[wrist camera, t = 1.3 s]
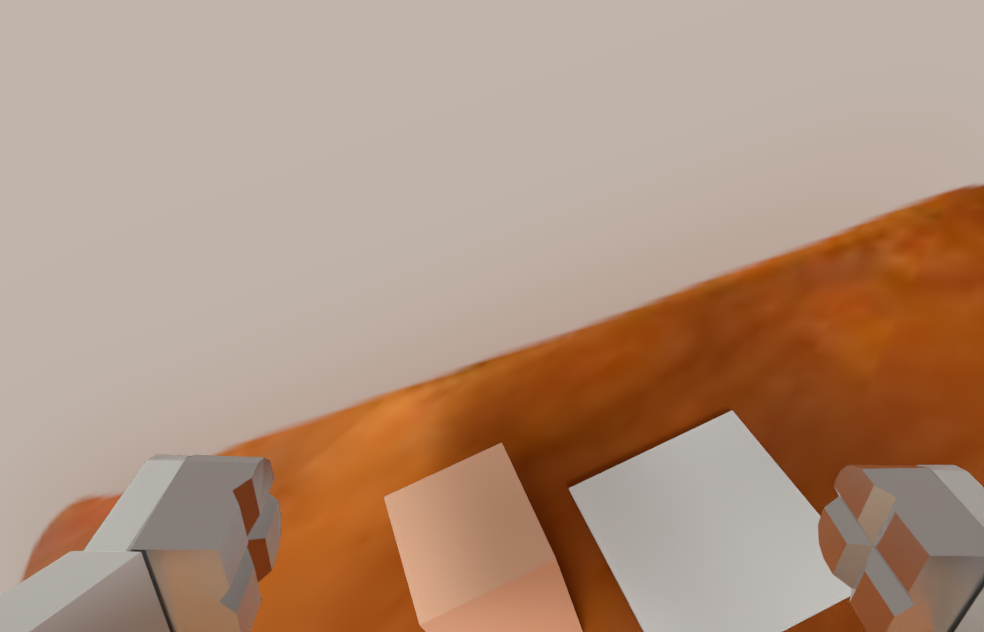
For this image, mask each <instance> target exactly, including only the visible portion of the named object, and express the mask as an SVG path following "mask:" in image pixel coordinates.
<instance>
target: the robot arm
mask: <svg viewBox="0 0 984 632" xmlns="http://www.w3.org/2000/svg"><path fill="white" fill-rule="evenodd" d="M273 481H274V475H273V471H272V467H271V462H270V460H268V459H266V458H262V457H235V456H208V455H193V456H183V455H159V454H156V455H155V456H153V457H151V458H150V459H148V460H147V461H146V462H145V463H144V464H143V466H142V467H141V468H140V470H139V472H138V473H137V474H136V476H135V477H134V479H133V480H132V481H131V483H130V484H129V486H128V487H127V489H126V490H125V492H124V493H123V494H122V496H121V497H120V499H119V500H118V502H117V503H116V504H115V506H114V507H113V509H112V510H111V512H110V513H109V515H108V516H107V517H106V519H105V520H104V522H103V523H102V525H101V526H100V528H99V529H98V530H97V532H96V533H95V535H94V536H93V538H92V539H91V540H90V542H89V543H88V545H87V546H86V548H85V549H84V551H70V552H69V553H67V554H66V555H64V556H62V557H61V558H59V559H58V560H56V561H55V562H53V563H51V564H50V565H48V566H47V567H45V568H44V569H42V570H40V571H39V572H37V573H36V574H34V575H32V576H31V577H29V578H28V579H26V580H25V581H23V582H21V583H20V584H18V585H17V586H15V587H13V588H12V589H10V590H9V591H7V592H6V593H4V594H2V595H1V596H0V632H250V631H251V628H252V625H253V622H254V619H255V617H256V614H257V611H258V608H259V605H260V603H261V600H262V599H261V595H260V590H259V586H258V582H259V581H260V580H261V579H262V578H264V577H265V576H266V575H267V574H268V573H269V572H270V571H272V568H273V565H274V562H275V559H276V556H277V553H278V548H279V542H280V535H281V512H280V506H279V502H278V501H277V500H276V499H275V498H274V497H273V496H272V495H271V494H269V491H270V488H271V486H272V483H273ZM834 487H835V489H836V491H837V493H838V495H839V497H838V498H836V499H835V500H834V501H832V502H831V503H830V504H828V505H827V506H826V507H824V509H823V512H822V515H821V517H820V520H819V523H818V537H819V546H820V549H821V552H822V555H823V558H824V560H825V562H826V563H827V565H828V567H829V569H830V570H831V572H832V574H833V575H834V576H836V577H837V578H838V579H840V580H841V581H842V582H844V583H845V584H846V585H848V586H849V587H850V588H852V591H851V597H850V605H851V606H852V608H853V610H854V611H855V613H856V615H857V616H858V618H859V620H860V621H861V623H862V625H863V626H864V628H865V630H866V631H867V632H984V487H983V486H982V485H981V484H980V483H979V482H978V481H977V480H976V479H975V478H974V477H973V476H972V475H971V474H970V473H969V472H967V471H966V470H964V469H962V468H960V467H958V466H956V465H917V466H913V465H847V466H846V467H845V468H844V469H842V470H841V471H840V472H839V474H838V476H837V478H836V481H835V483H834Z"/></svg>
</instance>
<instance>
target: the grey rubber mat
mask: <svg viewBox="0 0 984 632" xmlns="http://www.w3.org/2000/svg"><path fill="white" fill-rule="evenodd" d="M569 491H570V493H571V495H572V497H573V499H574V501H575V503H576V505H577V507H578V509H579V510H580V512H581V514H582V516H583V518H584V520H585V522H586V524H587V526H588V528H589V529H590V531H591V533H592V535H593V537H594V539H595V541H596V543H597V545H598V547H599V548H600V550H601V552H602V554H603V556H604V558H605V560H606V562H607V564H608V566H609V567H610V569H611V571H612V573H613V575H614V577H615V579H616V581H617V583H618V585H619V586H620V588H621V590H622V592H623V594H624V596H625V598H626V600H627V602H628V604H629V605H630V607H631V609H632V611H633V613H634V615H635V617H636V619H637V621H638V623H639V624H640V626H641V628H642V630H643V632H783V631H785V630H787V629H788V628H790V627H792V626H794V625H796V624H798V623H800V622H802V621H804V620H806V619H808V618H809V617H811V616H813V615H815V614H817V613H819V612H821V611H823V610H825V609H827V608H829V607H831V606H832V605H834V604H836V603H838V602H840V601H842V600H844V599H846V598H848V597H850V596H851V591H852V588H850V587H849V586H848V585H846V584H845V583H844V582H842V581H841V580H840V579H838V578H837V577H836V576H834V575H833V574H832V572H831V570H830V569H829V567H828V565H827V563H826V562H825V560H824V558H823V555H822V552H821V549H820V546H819V537H818V523H819V520H820V517H821V516H820V515H819V514H818V513H817V512H816V510H815V509H814V508H813V507H812V506H811V504H810V503H809V502H808V501H807V500H806V498H805V497H804V496H803V495H802V493H801V492H800V491H799V490H798V489H797V487H796V486H795V485H794V484H793V483H792V481H791V480H790V479H789V478H788V477H787V475H786V474H785V473H784V472H783V471H782V469H781V468H780V467H779V466H778V465H777V463H776V462H775V461H774V460H773V459H772V457H771V456H770V455H769V454H768V453H767V451H766V450H765V449H764V448H763V447H762V445H761V444H760V443H759V442H758V441H757V439H756V438H755V437H754V436H753V435H752V433H751V432H750V431H749V430H748V429H747V427H746V426H745V425H744V424H743V423H742V421H741V420H740V419H739V418H738V417H737V415H736V414H735V413H734V412H733V411H730V412H727V413H725V414H723V415H721V416H719V417H717V418H715V419H713V420H711V421H709V422H707V423H704V424H702V425H700V426H698V427H696V428H694V429H692V430H690V431H688V432H686V433H683V434H681V435H679V436H677V437H675V438H673V439H671V440H669V441H667V442H665V443H662V444H660V445H658V446H656V447H654V448H652V449H650V450H648V451H646V452H644V453H642V454H639V455H637V456H635V457H633V458H631V459H629V460H627V461H625V462H623V463H621V464H618V465H616V466H614V467H612V468H610V469H608V470H606V471H604V472H602V473H600V474H597V475H595V476H593V477H591V478H589V479H587V480H585V481H583V482H581V483H579V484H577V485H574V486H572V487H570V488H569Z"/></svg>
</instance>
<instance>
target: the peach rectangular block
mask: <svg viewBox="0 0 984 632" xmlns="http://www.w3.org/2000/svg"><path fill="white" fill-rule="evenodd" d="M384 499H385V503H386V506H387V510H388V513H389V517H390V521H391V524H392V528H393V531H394V535H395V539H396V542H397V546H398V549H399V553H400V557H401V560H402V564H403V567H404V571H405V575H406V578H407V582H408V585H409V589H410V593H411V596H412V600H413V603H414V607H415V611H416V614H417V618H418V621H419V625H420V626H421V627H422V628H423V629H424V630H425V631H426V632H583V631H582V628H581V625H580V623H579V620H578V617H577V614H576V612H575V609H574V606H573V603H572V601H571V598H570V595H569V593H568V590H567V587H566V584H565V582H564V579H563V576H562V573H561V571H560V568H559V565H558V562H557V560H556V557H555V555H554V553H553V551H552V549H551V547H550V545H549V542H548V540H547V538H546V536H545V534H544V532H543V530H542V527H541V525H540V523H539V521H538V519H537V517H536V515H535V512H534V510H533V508H532V506H531V504H530V502H529V500H528V497H527V495H526V493H525V491H524V489H523V487H522V485H521V482H520V480H519V478H518V476H517V474H516V472H515V470H514V467H513V465H512V463H511V461H510V459H509V457H508V455H507V452H506V450H505V448H504V446H503V444H502V443H499V444H497V445H495V446H493V447H491V448H489V449H486V450H484V451H482V452H480V453H478V454H476V455H473V456H471V457H469V458H467V459H465V460H463V461H461V462H458V463H456V464H454V465H452V466H450V467H448V468H445V469H443V470H441V471H439V472H437V473H435V474H432V475H430V476H428V477H426V478H424V479H422V480H419V481H417V482H415V483H413V484H411V485H409V486H407V487H404V488H402V489H400V490H398V491H396V492H394V493H391V494H389V495H387V496H385V497H384Z"/></svg>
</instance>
